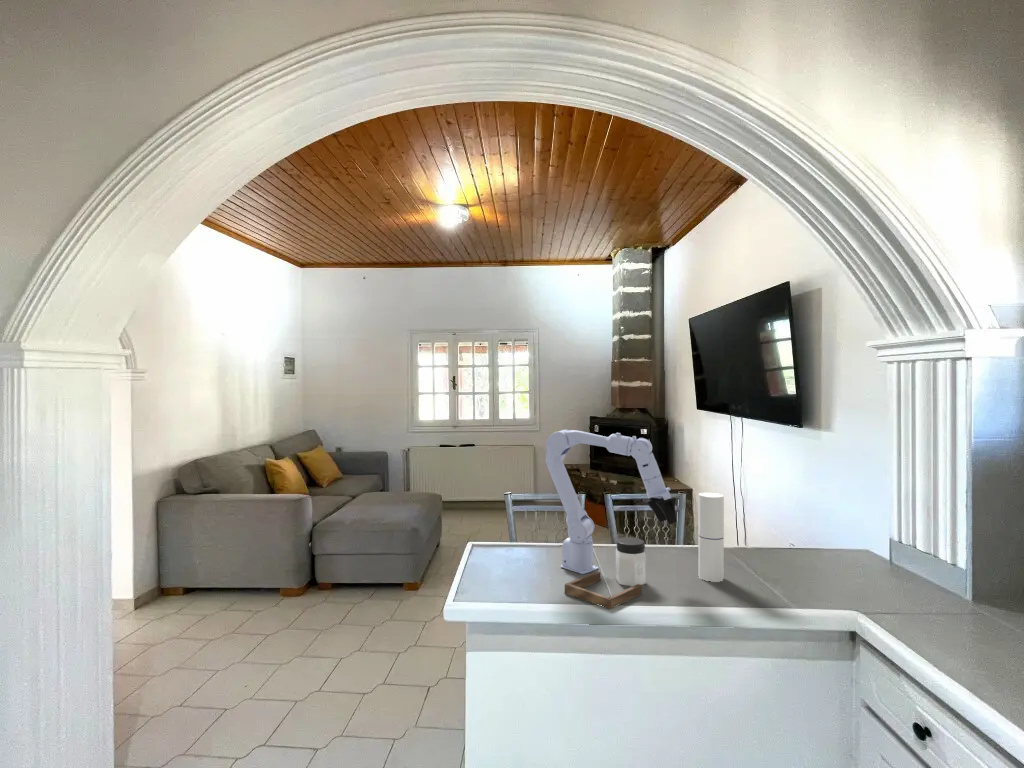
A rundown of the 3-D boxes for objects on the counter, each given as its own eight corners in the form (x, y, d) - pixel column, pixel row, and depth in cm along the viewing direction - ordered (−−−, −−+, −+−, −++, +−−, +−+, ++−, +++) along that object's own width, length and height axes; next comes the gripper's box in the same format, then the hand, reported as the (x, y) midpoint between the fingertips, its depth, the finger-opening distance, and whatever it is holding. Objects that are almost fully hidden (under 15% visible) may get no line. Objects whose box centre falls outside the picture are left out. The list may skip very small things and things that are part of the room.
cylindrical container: (697, 580, 164) (697, 496, 164) (699, 572, 171) (699, 491, 171) (723, 583, 161) (723, 498, 161) (723, 575, 168) (724, 493, 168)
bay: (564, 592, 155) (564, 583, 155) (597, 579, 165) (597, 571, 165) (609, 609, 143) (609, 599, 143) (641, 594, 154) (641, 585, 154)
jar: (629, 589, 157) (629, 547, 157) (609, 580, 164) (609, 540, 164) (651, 582, 162) (651, 541, 162) (631, 574, 169) (631, 535, 169)
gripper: (673, 473, 159) (690, 519, 157) (655, 473, 173) (671, 515, 171) (650, 481, 158) (667, 527, 156) (635, 480, 172) (650, 523, 170)
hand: (668, 521), depth 163 cm, fingers open, 7 cm apart
